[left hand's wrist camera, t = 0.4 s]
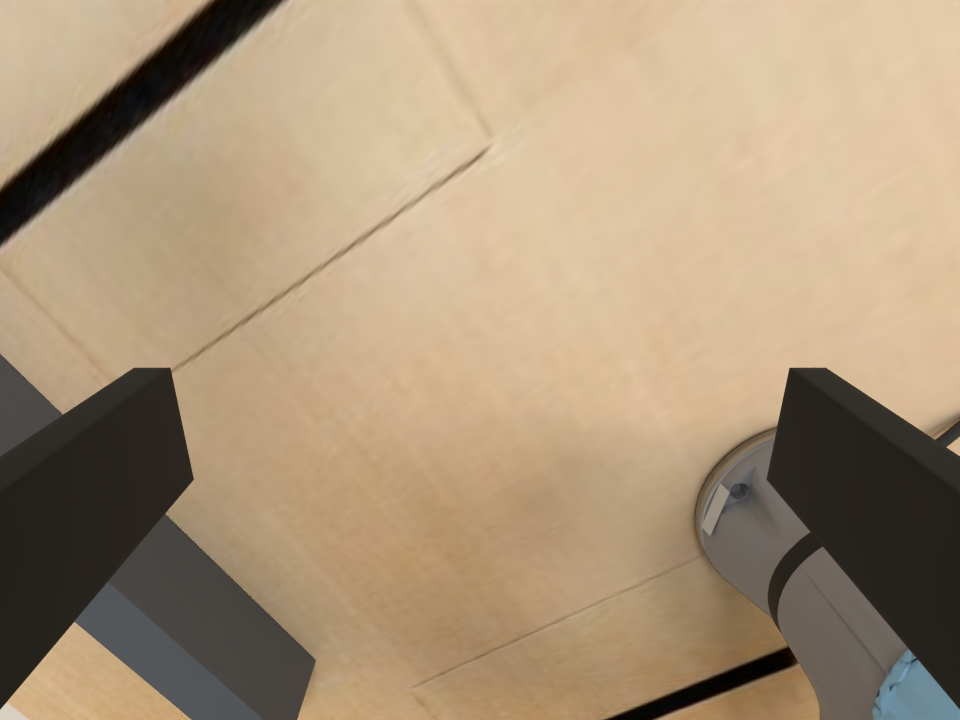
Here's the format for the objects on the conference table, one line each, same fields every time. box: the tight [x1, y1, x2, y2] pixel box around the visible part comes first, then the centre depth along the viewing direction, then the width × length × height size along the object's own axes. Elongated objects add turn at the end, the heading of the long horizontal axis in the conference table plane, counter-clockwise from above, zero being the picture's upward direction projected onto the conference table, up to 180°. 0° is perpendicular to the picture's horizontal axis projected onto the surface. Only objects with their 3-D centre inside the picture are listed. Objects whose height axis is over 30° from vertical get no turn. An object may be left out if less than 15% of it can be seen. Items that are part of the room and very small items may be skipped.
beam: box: [0, 355, 316, 720], centre depth 41 cm, size 52×5×8 cm, turn 34°
